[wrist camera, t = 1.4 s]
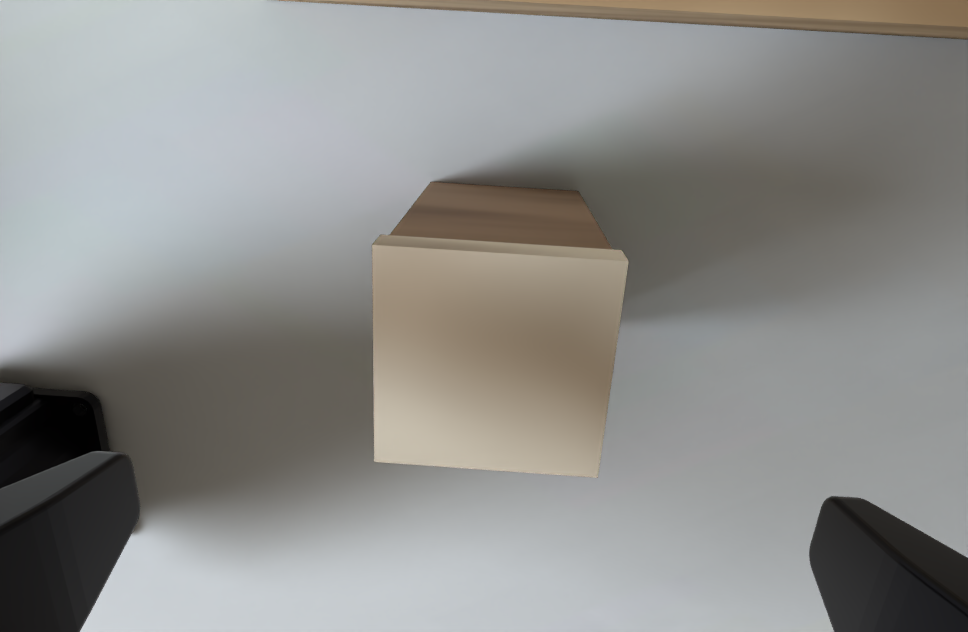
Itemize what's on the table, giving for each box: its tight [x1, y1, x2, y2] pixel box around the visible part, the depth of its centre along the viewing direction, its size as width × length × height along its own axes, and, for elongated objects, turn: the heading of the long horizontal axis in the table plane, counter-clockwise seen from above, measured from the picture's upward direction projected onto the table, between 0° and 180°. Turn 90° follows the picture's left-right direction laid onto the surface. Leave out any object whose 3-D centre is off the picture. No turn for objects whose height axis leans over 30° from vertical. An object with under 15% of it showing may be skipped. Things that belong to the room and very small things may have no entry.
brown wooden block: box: [372, 182, 629, 478], centre depth 16 cm, size 5×5×8 cm
